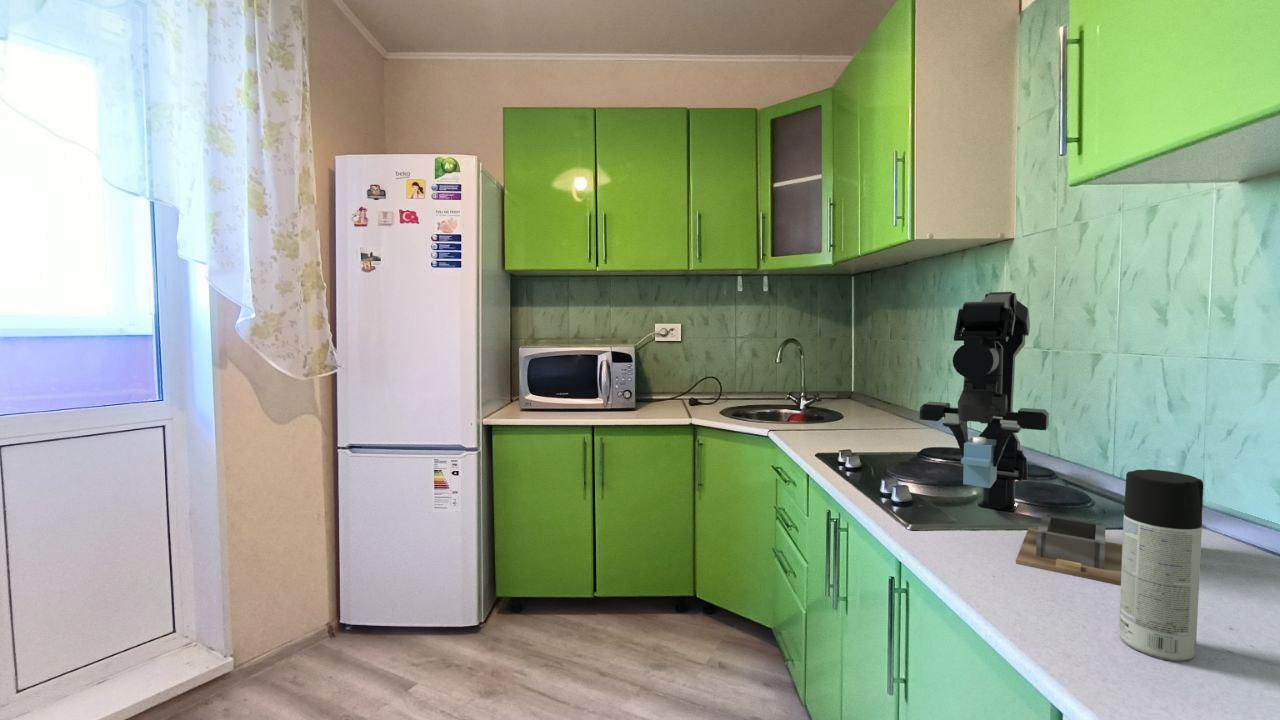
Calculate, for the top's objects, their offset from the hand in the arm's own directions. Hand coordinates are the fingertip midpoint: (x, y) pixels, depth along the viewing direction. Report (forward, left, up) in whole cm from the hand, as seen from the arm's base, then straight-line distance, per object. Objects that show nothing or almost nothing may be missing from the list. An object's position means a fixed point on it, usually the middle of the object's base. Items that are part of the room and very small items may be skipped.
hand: (980, 464), depth 101 cm
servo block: (0, 0, -3) cm, 3 cm away
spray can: (+27, +22, -13) cm, 37 cm away
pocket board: (0, +13, -13) cm, 18 cm away
